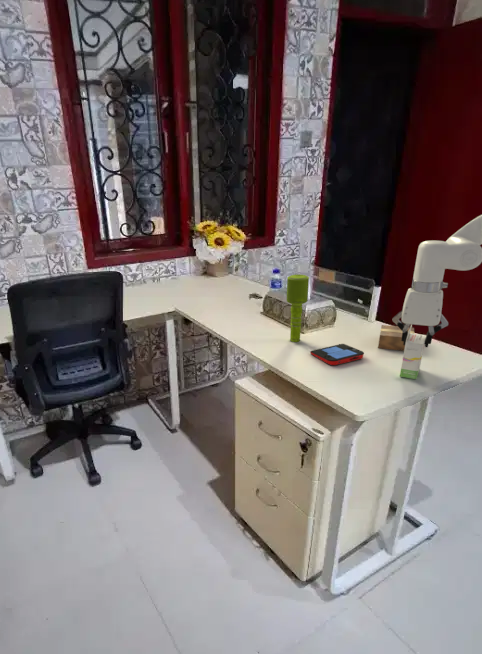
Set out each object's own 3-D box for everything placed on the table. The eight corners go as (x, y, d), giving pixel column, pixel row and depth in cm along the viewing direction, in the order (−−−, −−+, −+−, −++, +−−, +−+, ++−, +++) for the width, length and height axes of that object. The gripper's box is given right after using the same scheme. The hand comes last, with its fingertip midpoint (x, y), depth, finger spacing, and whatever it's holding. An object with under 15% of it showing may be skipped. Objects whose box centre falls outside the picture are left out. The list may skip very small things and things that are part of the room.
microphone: (282, 337, 163) (284, 274, 152) (301, 335, 163) (304, 272, 152) (288, 345, 155) (291, 279, 144) (308, 343, 156) (312, 277, 145)
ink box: (416, 380, 126) (425, 334, 120) (399, 376, 129) (406, 332, 122) (420, 368, 133) (428, 325, 126) (403, 366, 135) (411, 323, 129)
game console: (342, 346, 152) (343, 340, 151) (366, 359, 141) (367, 353, 140) (308, 353, 148) (309, 347, 147) (331, 367, 137) (331, 361, 136)
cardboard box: (412, 340, 153) (414, 327, 151) (411, 351, 145) (414, 338, 142) (379, 337, 158) (381, 324, 156) (377, 348, 149) (379, 334, 147)
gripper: (459, 284, 118) (446, 343, 126) (394, 281, 125) (385, 337, 133) (462, 291, 112) (448, 352, 120) (393, 287, 119) (384, 346, 127)
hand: (415, 344), depth 126 cm, fingers closed on ink box, 5 cm apart
